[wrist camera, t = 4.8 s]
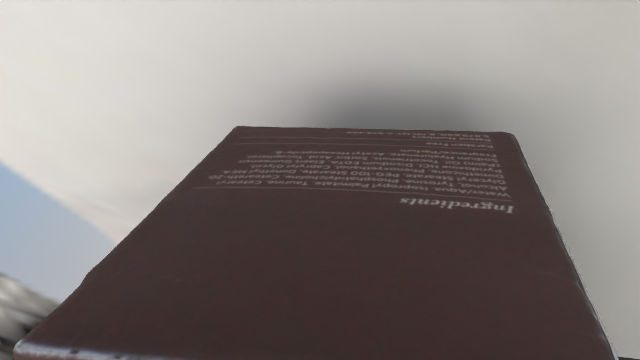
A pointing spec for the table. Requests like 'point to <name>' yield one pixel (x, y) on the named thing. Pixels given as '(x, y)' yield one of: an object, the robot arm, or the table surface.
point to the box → (337, 259)
